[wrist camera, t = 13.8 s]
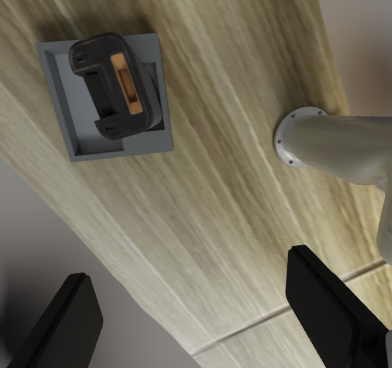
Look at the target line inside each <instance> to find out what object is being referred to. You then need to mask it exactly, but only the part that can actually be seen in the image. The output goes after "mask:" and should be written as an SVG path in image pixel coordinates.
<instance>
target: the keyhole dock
mask: <svg viewBox="0 0 392 368" xmlns="http://www.w3.org/2000/svg"><path fill="white" fill-rule="evenodd" d="M122 37H123V38H124V39H125V40H126V41H127V43H128V44H129V46H130V47H131V48H132V50H133V51H134V52H135V54H136V55H137V57H138V58H139V59H140V61H141V62H142V64H143V65H144V66H145V68H146V69H147V70H148V72H149V73H150V74H151V76H152V78H153V81H154V84H155V87H156V90H157V94H158V97H159V100H160V103H161V106H162V113H163V119H162V121H161V122H159V123H158V124H156V125H155V126H153V127H152V128H149V129H148V130H146V131H144V132H142V133H139V134H136V135H132V136H129V137H125V138H122V139H118V140H110V139H107V138H105V137H104V136H102V135H101V134H100V132H99V131H98V129H97V128H96V125H95V123H94V121H96V120H99V119H100V117H99V115H98V113H97V110H96V108H95V105H94V103H93V101H92V98H91V96H90V93H89V91H88V89H87V86H86V84H85V82H84V79H83V77H80V76H78V75H75V74H73V72H72V70H71V67H70V64H69V59H68V54H69V50H70V48H71V46H72V45H73V44H74V43H76V42H78V41H80V40H84V39H80V40H69V41H57V42H45V43H35V44H36V48H37V51H38V54H39V58H40V61H41V64H42V68H43V71H44V74H45V78H46V81H47V84H48V87H49V91H50V94H51V97H52V101H53V104H54V107H55V111H56V114H57V117H58V121H59V124H60V127H61V130H62V134H63V137H64V140H65V144H66V147H67V150H68V154H69V157H70V160H71V162H78V161H87V160H96V159H105V158H114V157H122V156H131V155H140V154H149V153H158V152H167V151H173V149H174V146H173V139H172V131H171V124H170V116H169V109H168V101H167V94H166V86H165V79H164V71H163V64H162V56H161V49H160V41H159V37H158V33H150V34H139V35H127V36H122Z"/></svg>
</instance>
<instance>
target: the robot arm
mask: <svg viewBox="0 0 392 368" xmlns="http://www.w3.org/2000/svg"><path fill="white" fill-rule="evenodd" d="M291 115H292V117H291ZM277 141H278V142H277ZM274 149H275V152H276V154H277V156H278V157H279V159H280V160H281V161H282V162H284V163H285V164H287V165H289V166H292V167H299V168H300V167H307V166H311V167H313V168H316V169H318V170H321V171H323V172H326V173H328V174H331V175H333V176H335V177H338V178H340V179H343V180H346V181H348V182H351V183H354V184H358V185H376V184H381V183H385V182H387V188H386V192H385V200H384V204H383V209H382V213H381V217H380V222H379V227H378V232H377V239H376V243H377V249H378V251H379V253H380V255H381V256H382V258H383V259H384V260H385V261H386V262H387V263H388V264H389V265H390V266H392V116H338V115H328V114H327V113H326V112H324V111H323V110H321V109H319V108H316V107H301V108H298V109H295V110H293V111H291V112H290V113H289V114H287V115H286V116H285V117H284V118H283V119H282V120H281V122H280V123H279V125H278V127H277V129H276V131H275V135H274ZM289 161H290V162H289ZM285 293H286V298H287V301H288V303H289V304H290V306H291V308H292V309H293V311H294V313H295V315H296V316H297V318H298V320H299V322H300V323H301V325H302V327H303V329H304V330H305V332H306V334H307V336H308V337H309V339H310V341H311V342H312V344H313V346H314V348H315V349H316V351H317V353H318V355H319V356H320V358H321V360H322V362H323V363H324V365H325V367H326V368H392V330H390V331H389V330H388V329H387V328H386V327H385V325H384V324H383V323H382V322H381V321H380V320H379V319H378V318H377V317H376V316H375V315H374V314H373V313H372V312H371V311H370V310H369V309H368V308H367V307H366V306H365V305H364V304H363V303H362V302H361V301H360V300H359V298H358V297H357V296H356V295H355V294H354V293H353V292H352V291H351V290H350V289H349V288H348V287H347V286H346V285H345V284H344V283H343V282H342V281H341V280H340V279H339V278H338V277H337V276H336V275H335V274H334V273H332V272H331V271H330V270H329V269H328V267H327V266H326V265H325V264H324V263H323V262H322V261H321V260H320V259H319V258H318V257H317V256H316V255H315V254H314V253H313V252H312V251H311V250H310V249H309V248H308V247H307V246H306V245H297V246H292V248H291V250H289V251H288V262H287V277H286V292H285ZM102 326H103V316H102V313H101V310H100V307H99V304H98V301H97V298H96V294H95V291H94V288H93V286H92V282H91V279H90V277H89V276H88V275H86V274H85V273H76V274H70V275H69V276H68V277H67V279H66V280H65V282H64V283H63V285H62V286H61V288H60V289H59V291H58V292H57V294H56V295H55V297H54V298H53V300H52V301H51V303H50V304H49V306H48V307H47V308H46V310H45V311H44V313H43V314H42V316H41V317H40V319H39V320H38V322H37V323H36V325H35V326H34V328H33V329H32V331H31V332H30V334H29V335H28V337H27V338H26V340H25V341H24V343H23V345H22V346H21V347H20V349H19V350H18V352H17V353H16V355H15V356H14V358H13V359H12V361H11V362H10V364H9V365H8V367H7V368H88V366H89V363H90V360H91V358H92V355H93V352H94V349H95V346H96V343H97V341H98V338H99V335H100V332H101V329H102Z"/></svg>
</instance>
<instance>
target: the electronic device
mask: <svg viewBox="0 0 392 368" xmlns="http://www.w3.org/2000/svg"><path fill="white" fill-rule="evenodd" d="M68 59H69V64H70V67H71V70H72V72H73V74H75V75H78V76H80V77H83V79H84V82H85V84H86V86H87V89H88V91H89V93H90V96H91V98H92V101H93V103H94V105H95V108H96V110H97V113H98V115H99V117H100V119H99V120H96V121H94V123H95V125H96V128H97V129H98V131H99V132H100V134H101V135H102V136H104V137H105V138H107V139H110V140H118V139H122V138H125V137H129V136H132V135H136V134H139V133H142V132H144V131H146V130H148V129H149V128H152V127H153V126H155V125H156V124H158V123H159V122H161V121H162V119H163V113H162V106H161V103H160V100H159V97H158V94H157V90H156V87H155V84H154V81H153V78H152V76H151V74H150V73H149V72H148V70H147V69H146V68H145V66H144V65H143V64H142V62H141V61H140V59H139V58H138V57H137V55H136V54H135V52H134V51H133V50H132V48H131V47H130V46H129V44H128V43H127V41H126V40H125V39H124V38H123V37H122V36H121V35H119V34H117V33H113V32H108V33H103V34H100V35H97V36H93V37H90V38H87V39H84V40H80V41H78V42H76V43H74V44H73V45H72V46H71V48H70V50H69V54H68Z"/></svg>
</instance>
